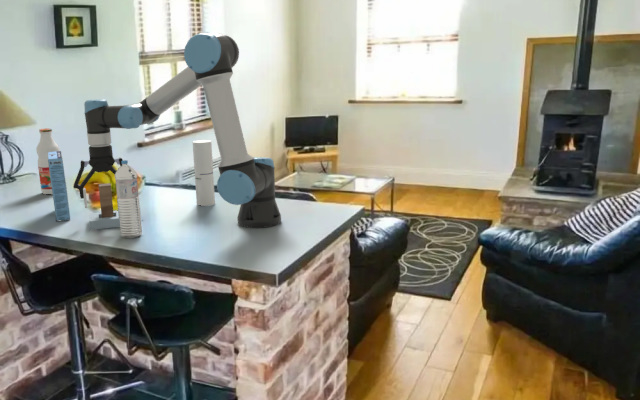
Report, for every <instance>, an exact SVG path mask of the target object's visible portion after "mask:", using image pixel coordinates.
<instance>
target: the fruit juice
mask: <svg viewBox="0 0 640 400" xmlns="http://www.w3.org/2000/svg"><path fill="white" fill-rule="evenodd" d="M38 132H39V134H40V139H39V141H38V144H37V146H36V149H35V151H36V154H37V157H38V159H37V169H38V176H39V183H40V190H41V194H42V193H43V195H46V194H51V195H53V194H52V187H51V179H50V172H49V164H48V152H55V151H60V146H59V144H58V143H56V141H55V139H54V137H53V135H52V133H53V129H52V128H40V129H39V130H38Z"/></svg>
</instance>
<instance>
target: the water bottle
mask: <svg viewBox="0 0 640 400" xmlns="http://www.w3.org/2000/svg"><path fill="white" fill-rule="evenodd" d="M122 160H123V161H121V162H122V166H119V167H118V168H117V169H116V170H117V171H116V173H115V174H114V179H115V188H116V197H117V198H116V200H117V202H116V203H117V210H118V214H119V222H120V223H119V224H120V227H119V232H120V236H121V237H122V238H124V239H134V238H138V237H140V236H142V234H143V229H142V227H143V226H142V217H141V216H142V215H141V206H140V196H139V187H138V172H137V171H136V169H134V168H133V167H132V166H130V165H129V164H128V160H125V159H122Z"/></svg>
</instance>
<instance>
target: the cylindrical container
mask: <svg viewBox="0 0 640 400" xmlns="http://www.w3.org/2000/svg"><path fill="white" fill-rule="evenodd" d="M212 145H213V144H212V140H211V139H209V140H207V139H200V140H199V139H198V140H193V141H192V152H193V154H192V155H193V166H194V169H193V170H194V180H195V181H194V182H195V196H196V198H195V199H196V206H198V205H201V206H200V207H208V206H207V205H211V206H214V205H215V204H216V196H215V195H216V194H215V182H214V181H215V180H214V179H215V177H214V163H213V149H212V148H213V147H212ZM213 204H214V205H213Z"/></svg>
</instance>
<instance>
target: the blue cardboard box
mask: <svg viewBox="0 0 640 400" xmlns="http://www.w3.org/2000/svg"><path fill="white" fill-rule="evenodd" d="M62 154H63V153H62V151H61V150H59V151H55V152H48V164H49V172H50V179H51V187H52V194H51V195H52V200H53V207H54V214H55V221H56V220H65V221H70V220H71V214H70V213H71V212H70V205H69V196H68V195H69V194H68V190H67V189H68V188H67V182H66V174H65V169H64V168H65V167H64V162H63V161H64V160H63V156H62ZM68 219H69V220H68Z"/></svg>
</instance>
